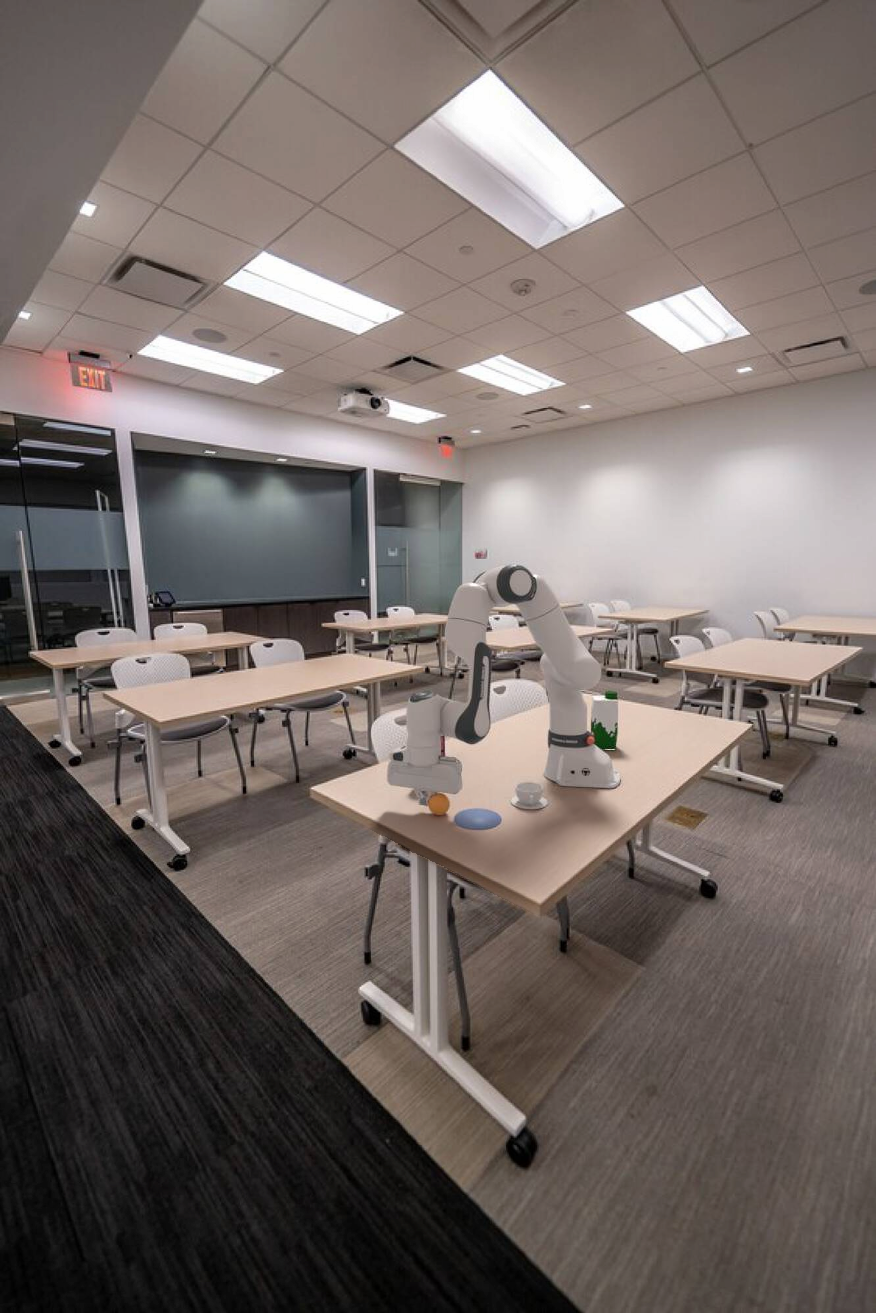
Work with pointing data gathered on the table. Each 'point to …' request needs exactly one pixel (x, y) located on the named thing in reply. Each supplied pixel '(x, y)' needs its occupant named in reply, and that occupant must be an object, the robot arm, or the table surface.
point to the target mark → (477, 819)
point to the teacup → (529, 796)
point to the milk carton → (605, 720)
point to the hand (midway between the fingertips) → (424, 804)
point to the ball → (439, 804)
